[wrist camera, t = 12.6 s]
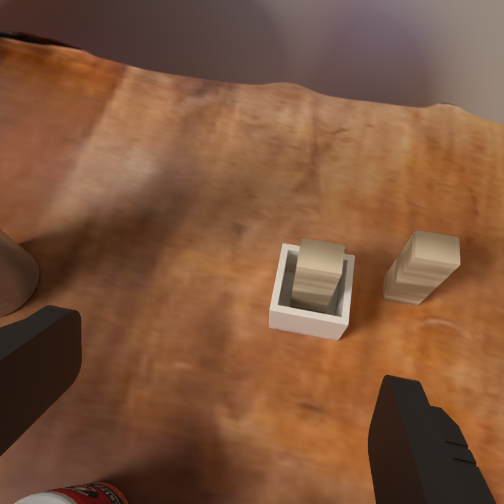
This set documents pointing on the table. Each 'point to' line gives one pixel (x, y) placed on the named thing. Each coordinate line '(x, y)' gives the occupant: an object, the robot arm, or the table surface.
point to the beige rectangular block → (421, 267)
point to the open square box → (309, 321)
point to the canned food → (78, 495)
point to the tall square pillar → (316, 274)
